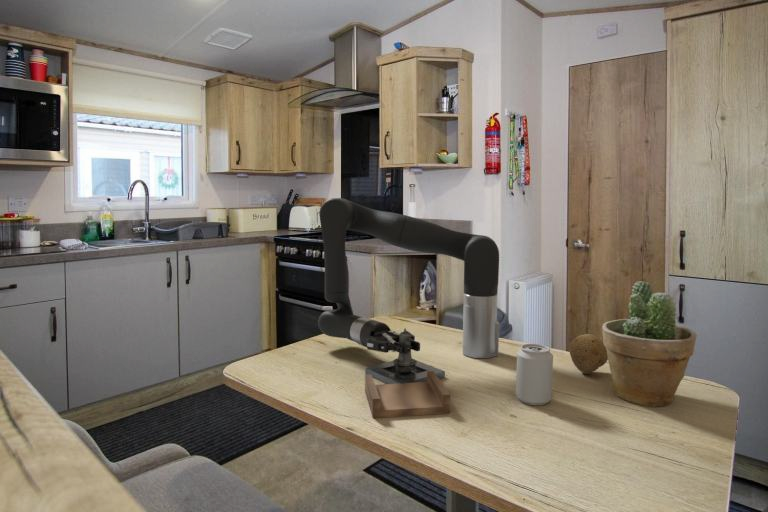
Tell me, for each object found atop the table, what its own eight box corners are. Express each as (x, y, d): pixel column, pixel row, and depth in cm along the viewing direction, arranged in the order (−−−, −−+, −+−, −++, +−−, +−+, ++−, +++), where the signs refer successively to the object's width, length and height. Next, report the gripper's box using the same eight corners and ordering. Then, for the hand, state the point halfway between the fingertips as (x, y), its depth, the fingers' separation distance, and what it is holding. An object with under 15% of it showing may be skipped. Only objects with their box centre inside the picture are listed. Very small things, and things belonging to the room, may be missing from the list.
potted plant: (712, 409, 107) (722, 292, 104) (636, 418, 103) (644, 296, 100) (648, 379, 125) (655, 278, 122) (581, 385, 121) (586, 281, 118)
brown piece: (433, 387, 119) (433, 371, 119) (449, 413, 106) (450, 394, 105) (364, 391, 117) (364, 374, 116) (372, 418, 103) (372, 398, 103)
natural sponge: (587, 365, 135) (589, 328, 134) (615, 376, 127) (617, 337, 126) (561, 369, 132) (562, 332, 130) (587, 381, 123) (589, 341, 122)
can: (551, 395, 115) (553, 343, 113) (550, 409, 108) (553, 353, 106) (517, 391, 117) (518, 340, 116) (514, 404, 110) (515, 350, 109)
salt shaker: (409, 381, 123) (409, 332, 122) (388, 376, 126) (388, 329, 125) (420, 373, 128) (421, 327, 127) (400, 369, 131) (400, 324, 130)
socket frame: (407, 362, 137) (407, 356, 137) (444, 377, 126) (445, 371, 126) (365, 373, 128) (365, 367, 128) (401, 390, 118) (401, 384, 117)
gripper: (348, 324, 133) (390, 338, 119) (390, 316, 141) (434, 328, 128) (348, 352, 134) (390, 369, 120) (390, 342, 142) (433, 357, 129)
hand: (412, 348), depth 124 cm, fingers closed on salt shaker, 3 cm apart
